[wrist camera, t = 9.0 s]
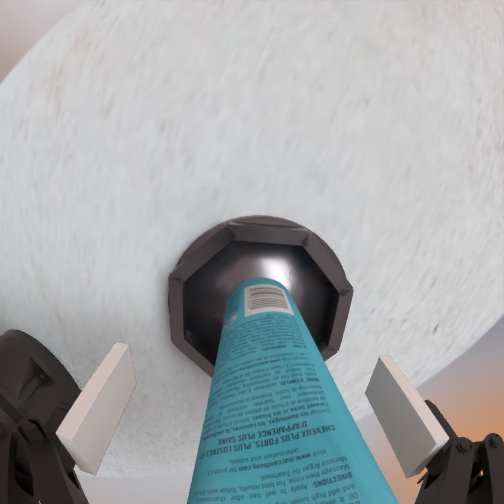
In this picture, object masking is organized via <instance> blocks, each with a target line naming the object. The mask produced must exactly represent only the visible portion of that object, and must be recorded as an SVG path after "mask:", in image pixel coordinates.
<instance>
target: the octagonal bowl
mask: <svg viewBox="0 0 504 504" xmlns="http://www.w3.org/2000/svg"><path fill="white" fill-rule="evenodd" d="M258 277H264V278H270V279H273V280H276V281H278V282H280V283H281V284H282V285H283V286H285V287H286V289H287V290H288V291H289V293H290V295H291V296H292V298H293V300H294V302H295V304H296V306H297V308H298V310H299V312H300V314H301V316H302V318H303V320H304V322H305V324H306V326H307V328H308V330H309V332H310V334H311V336H312V338H313V340H314V342H315V344H316V346H317V348H318V350H319V352H320V354H321V356H322V358H323V360H324V361H326V360H327V359H329V358H330V357H332V356H333V355H334V354H336V353H337V351H339V348H340V345H341V341H342V337H343V333H344V330H345V326H346V322H347V318H348V313H349V309H350V305H351V300H352V296H353V291H354V290H353V287H352V286H351V284H350V283H349V281H348V280H347V279H346V276H345V272H344V270H343V267H342V265H341V263H340V261H339V259H338V258H337V256H336V255H335V253H334V252H333V250H332V249H331V248H330V247H329V246H328V245H327V244H326V243H325V242H324V241H323V240H322V239H321V238H320V237H319V236H317V235H316V234H315V233H314V232H312V231H311V230H309V229H307V228H306V227H304V226H302V225H300V224H298V223H296V222H293V221H290V220H287V219H284V218H280V217H274V216H263V215H254V216H245V217H239V218H235V219H232V220H228V221H226V222H223V223H221V224H218V225H217V226H215V227H213V228H211V229H210V230H208V231H206V232H205V233H204V234H202V235H201V236H200V237H199V238H197V239H196V240H195V241H194V242H193V243H192V244H191V245H190V247H189V248H188V249H187V250H186V251H185V253H184V254H183V255H182V257H181V258H180V260H179V262H178V263H177V265H176V267H175V269H174V270H173V271H172V273H171V274H170V276H169V294H168V305H169V313H170V328H171V341H173V342H172V343H173V344H174V345H176V346H177V347H178V348H179V349H180V350H181V351H182V352H183V353H184V354H185V355H186V356H188V357H189V358H190V359H191V360H192V361H193V362H194V363H196V364H197V365H198V366H199V367H200V368H201V369H202V370H204V371H205V372H206V373H207V374H208V375H210V376H211V377H212V378H213V374H214V369H215V364H216V359H217V354H218V349H219V344H220V339H221V333H222V328H223V323H224V318H225V313H226V308H227V303H228V299H229V297H230V295H231V293H232V291H233V290H234V289H235V288H236V287H237V286H238V285H239V284H241V283H242V282H244V281H246V280H249V279H252V278H258Z"/></svg>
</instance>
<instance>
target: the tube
mask: <svg viewBox="0 0 504 504" xmlns="http://www.w3.org/2000/svg"><path fill="white" fill-rule="evenodd" d="M187 504H399V502H398V501H397V499H396V497H395V495H394V493H393V492H392V490H391V488H390V486H389V485H388V483H387V481H386V479H385V477H384V475H383V474H382V472H381V470H380V468H379V466H378V465H377V463H376V461H375V459H374V457H373V456H372V453H371V452H370V450H369V448H368V446H367V444H366V442H365V440H364V439H363V437H362V435H361V433H360V431H359V429H358V427H357V425H356V423H355V421H354V419H353V417H352V415H351V413H350V412H349V410H348V408H347V406H346V404H345V402H344V400H343V398H342V396H341V394H340V392H339V390H338V388H337V386H336V384H335V382H334V380H333V378H332V376H331V374H330V372H329V370H328V368H327V366H326V364H325V362H324V360H323V358H322V356H321V354H320V352H319V350H318V348H317V346H316V344H315V342H314V340H313V338H312V336H311V334H310V332H309V330H308V328H307V326H306V324H305V322H304V320H303V318H302V316H301V314H300V312H299V310H298V308H297V306H296V304H295V302H294V300H293V298H292V296H291V295H290V293H289V291H288V290H287V289H286V287H285V286H283V285H282V284H281V283H280V282H278V281H276V280H273V279H270V278H264V277H258V278H252V279H249V280H246V281H244V282H242V283H241V284H239V285H238V286H237V287H236V288H235V289H234V290H233V291H232V293H231V295H230V297H229V299H228V303H227V308H226V313H225V318H224V323H223V328H222V333H221V339H220V344H219V349H218V354H217V359H216V364H215V369H214V374H213V379H212V385H211V390H210V395H209V400H208V405H207V410H206V414H205V419H204V424H203V429H202V434H201V439H200V444H199V449H198V453H197V458H196V463H195V468H194V473H193V477H192V482H191V487H190V492H189V497H188V501H187Z"/></svg>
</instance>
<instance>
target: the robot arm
mask: <svg viewBox="0 0 504 504" xmlns="http://www.w3.org/2000/svg"><path fill="white" fill-rule="evenodd" d="M135 386H136V379H135V374H134V369H133V363H132V358H131V352H130V346H129V344H124V343H119V342H116V343H115V344H114V346H113V347H112V348H111V350H110V351H109V353H108V354H107V356H106V357H105V358H104V360H103V361H102V363H101V364H100V365H99V367H98V368H97V370H96V371H95V373H94V374H93V376H92V377H91V379H90V380H89V382H88V383H87V384H86V386H85V387H84V389H83V390H79V389H78V387H77V385H76V384H75V382H74V380H73V379H72V377H71V376H70V375H69V373H68V372H67V371H66V369H65V368H64V367H63V366H62V364H61V363H60V362H59V361H58V360H57V359H56V358H55V357H54V356H53V355H52V354H51V353H50V352H49V351H48V350H47V349H46V348H45V347H44V346H43V345H42V344H41V343H39V342H38V341H37V340H35V339H34V338H33V337H31V336H29V335H28V334H26V333H24V332H21V331H18V330H9V331H7V332H6V333H4V334H3V335H2V336H1V337H0V504H39V500H40V503H41V504H89V503H88V500H87V498H86V497H85V494H84V492H83V490H82V488H81V485H80V483H79V481H78V478H77V476H76V473H75V471H74V469H73V468H74V466H75V464H77V466H78V467H79V468H80V470H82V471H85V472H87V473H90V474H93V475H95V476H96V474H97V471H98V469H99V467H100V464H101V462H102V459H103V457H104V455H105V452H106V450H107V448H108V445H109V443H110V441H111V438H112V436H113V434H114V432H115V429H116V427H117V425H118V423H119V420H120V418H121V416H122V414H123V412H124V409H125V407H126V405H127V403H128V401H129V399H130V396H131V394H132V392H133V390H134V388H135ZM365 394H366V396H367V398H368V400H369V402H370V404H371V406H372V408H373V410H374V412H375V414H376V416H377V418H378V420H379V422H380V424H381V426H382V428H383V430H384V432H385V434H386V436H387V438H388V440H389V442H390V444H391V446H392V448H393V451H394V453H395V455H396V457H397V459H398V461H399V463H400V465H401V467H402V470H403V471H404V474H405V476H406V478H409V477H412V476H415V475H417V474H420V473H421V471H422V470H423V469H424V468H425V467H426V468H427V470H428V471H427V472H426V473H425V475H424V476H423V477H422V478H421V479H420V480H419V481H418V484H419V483H420V482H421V481H422V480H423V483H422V485H421V488H420V491H419V494H418V497H417V499H416V502H415V504H504V442H503V440H502V438H501V437H500V436H499V435H498V434H495V433H491V434H488V435H487V436H486V438H485V439H484V440H483V441H480V442H472V441H470V440H469V439H467V438H465V437H458V436H457V435H456V434H455V432H454V431H453V429H452V428H451V426H450V425H449V424H448V422H447V421H446V419H444V417H443V415H442V414H441V413H440V411H439V410H438V408H437V407H436V405H434V404H433V403H432V402H430V401H429V400H425V401H424V400H423V399H422V398H421V396H420V395H419V394H418V392H417V391H416V389H415V388H414V386H413V385H412V384H411V382H410V381H409V380H408V378H407V377H406V375H405V374H404V373H403V371H402V370H401V369H400V367H399V366H398V365H397V363H396V362H395V361H394V359H393V358H392V357H391V355H390V356H379V358H378V361H377V364H376V367H375V369H374V372H373V374H372V377H371V379H370V382H369V384H368V387H367V389H366V392H365ZM482 470H483V475H482V476H481V473H480V472H481V471H482Z"/></svg>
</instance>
